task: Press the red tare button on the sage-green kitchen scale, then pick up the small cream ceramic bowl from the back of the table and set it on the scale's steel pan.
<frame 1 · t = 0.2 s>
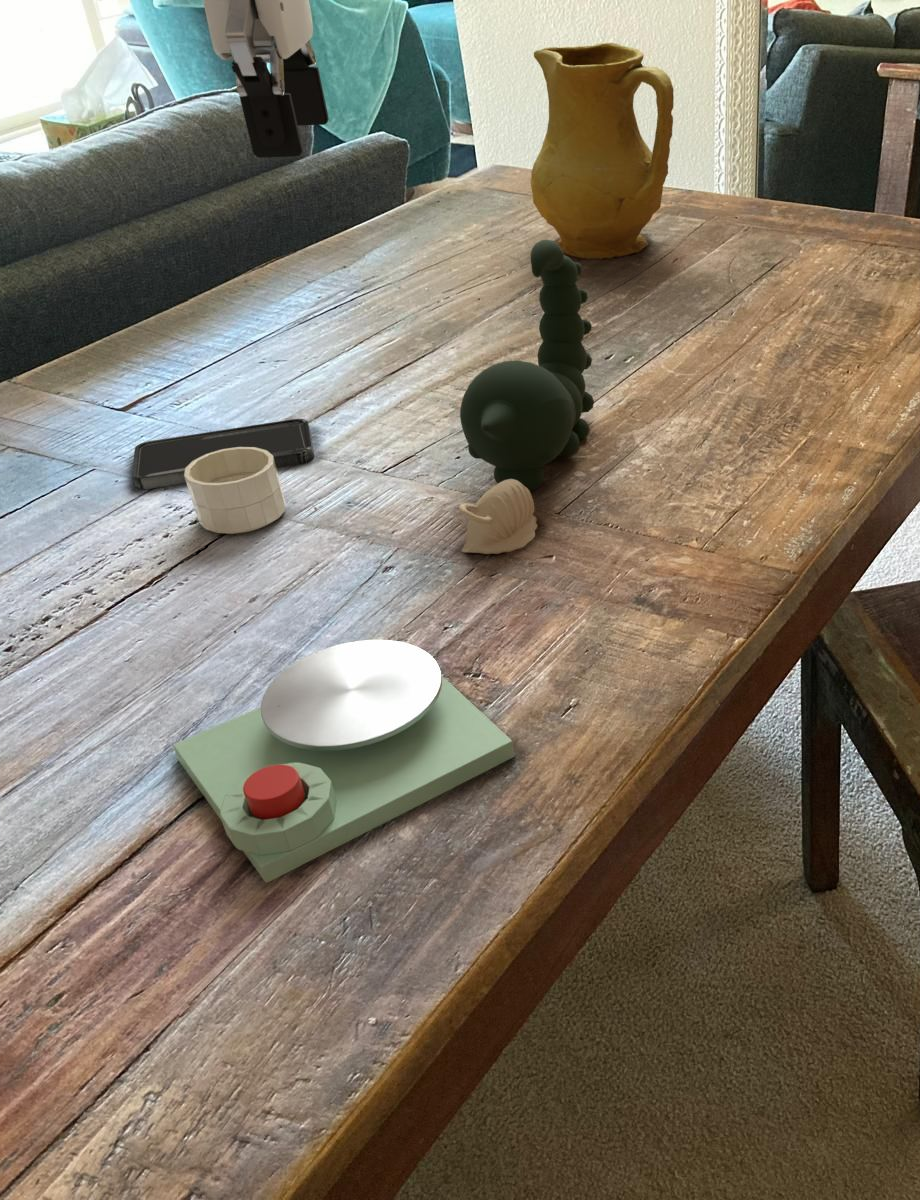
hand: (293, 139, 87), 30 cm above the table, tool pointing down, fingers open, 9 cm apart
tare button: (274, 791, 68), point 3 cm above the table, slide at 0.1 cm
decorative ornament: (500, 544, 98), on the table
scale pan: (363, 730, 78), resting on scale
pitcher: (605, 248, 163), on the table
phone: (227, 459, 110), on the table
bowl: (244, 518, 101), on the table
scale: (347, 759, 76), on the table
toy figurine: (543, 457, 111), on the table
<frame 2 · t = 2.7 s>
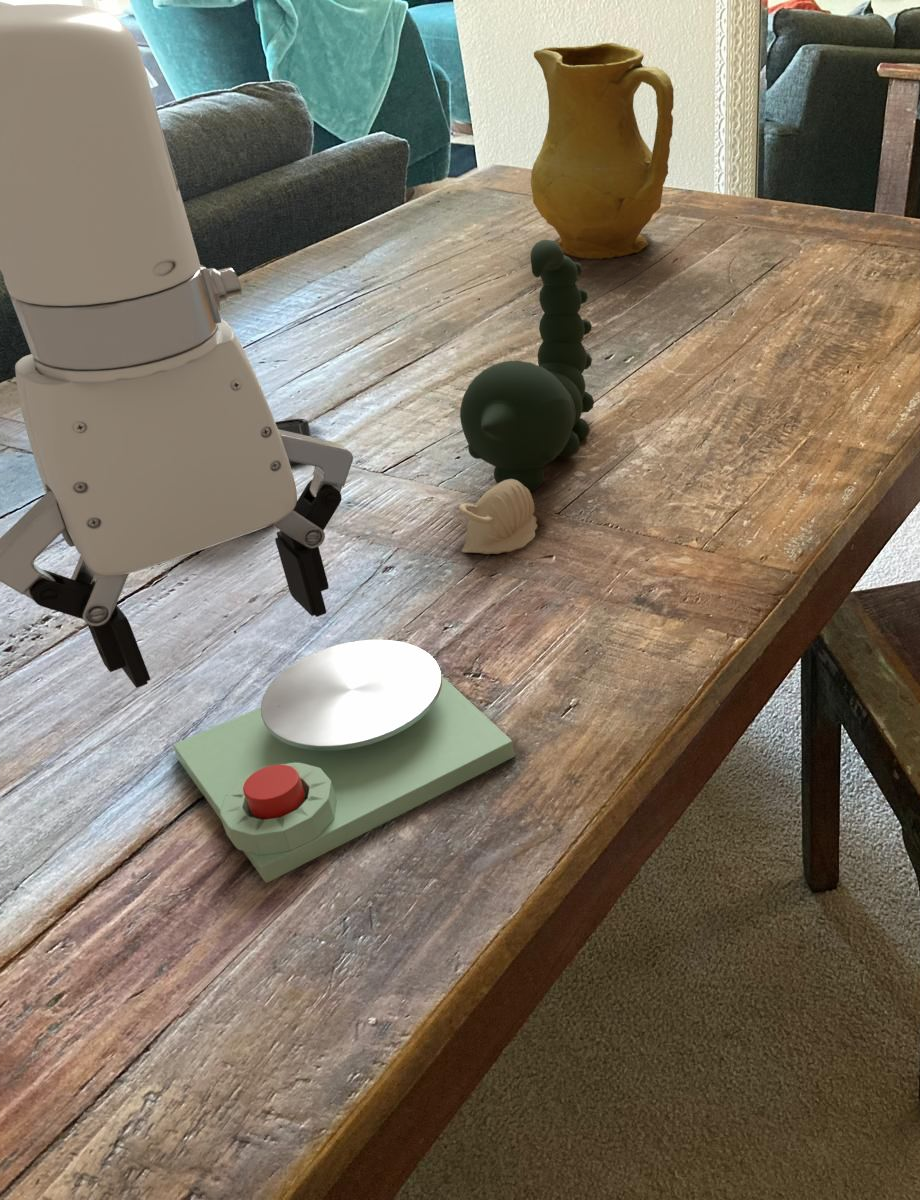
hand: (225, 637, 62), 14 cm above the table, tool pointing down, fingers open, 8 cm apart
nothing on the table moved.
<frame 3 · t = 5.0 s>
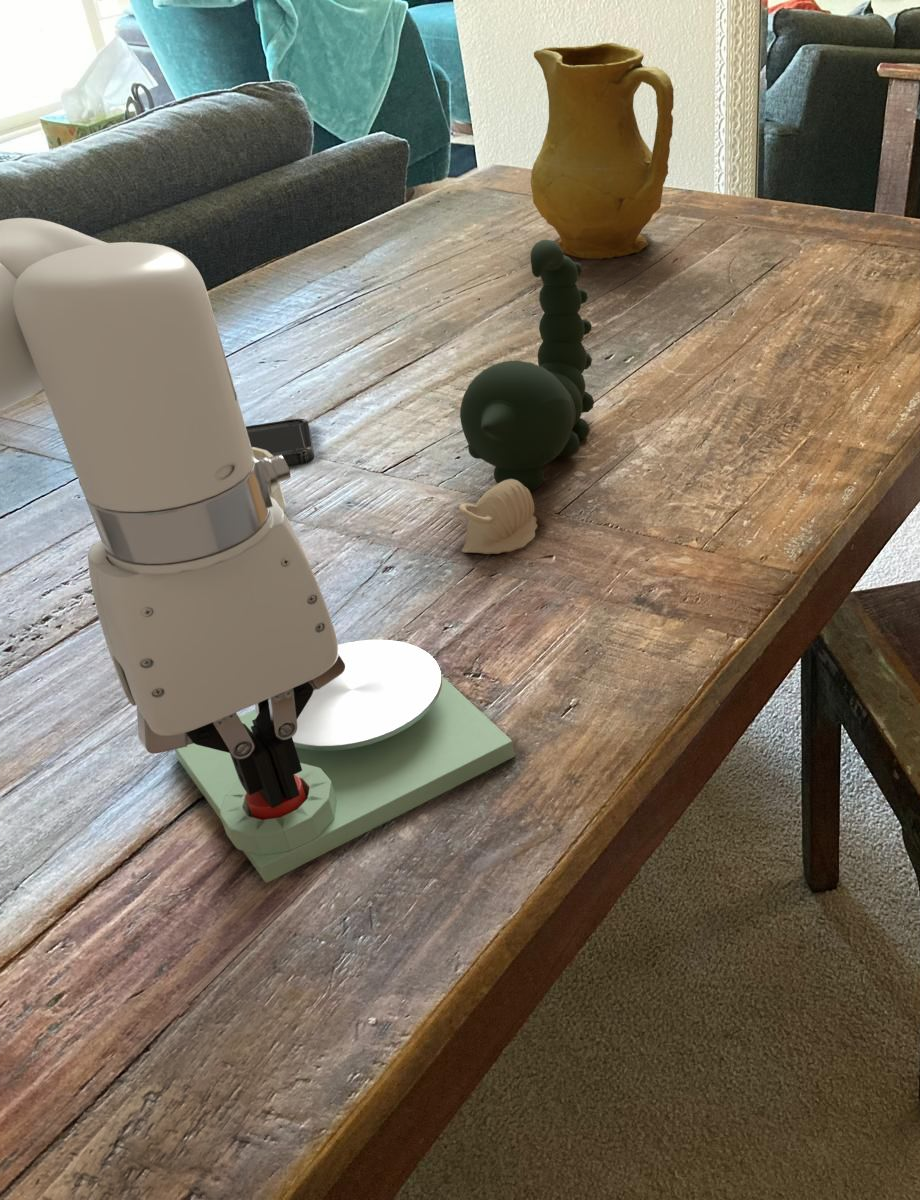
hand: (275, 789, 68), 4 cm above the table, tool pointing down, fingers closed
tare button: (276, 799, 69), point 3 cm above the table, slide at -0.5 cm, touching gripper
everything else where it was.
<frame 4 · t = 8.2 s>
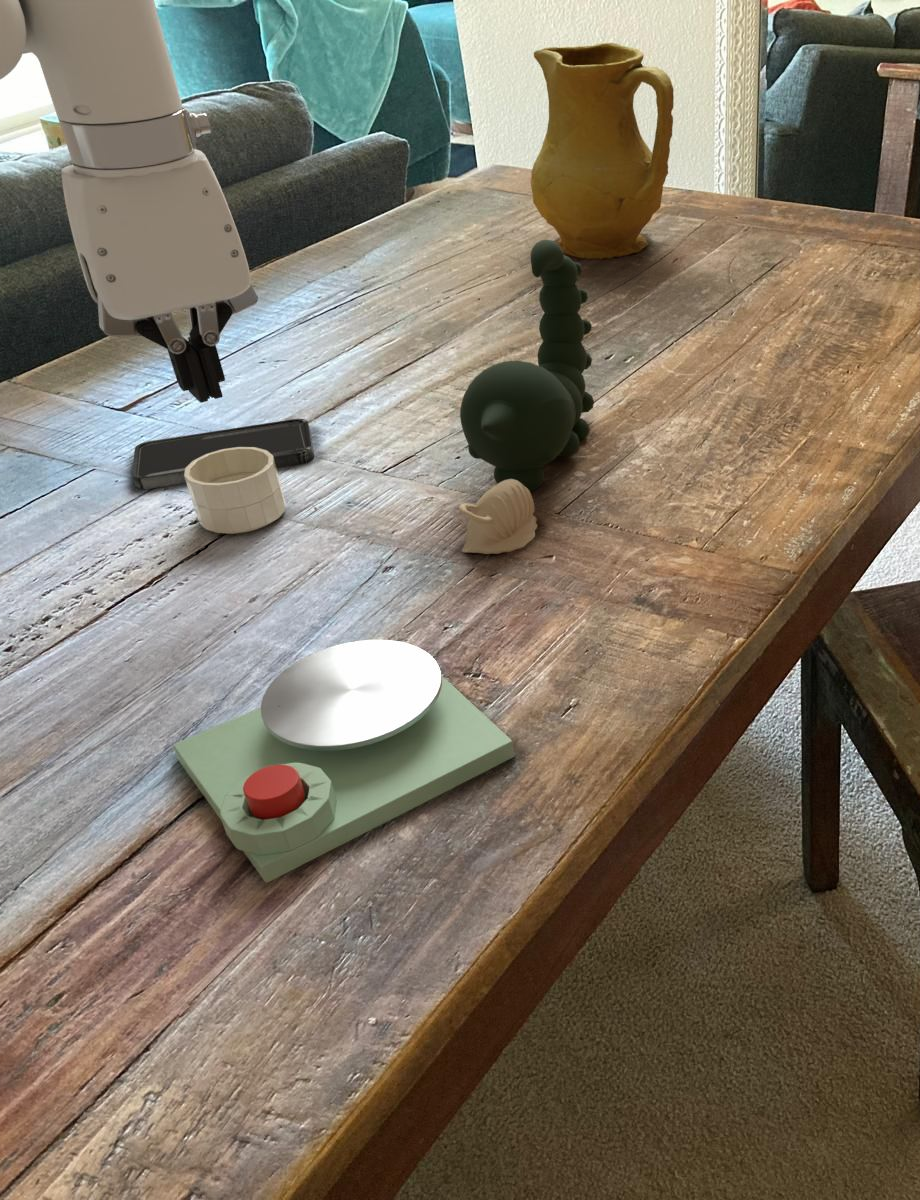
hand: (205, 394, 91), 13 cm above the table, tool pointing down, fingers closed
tare button: (274, 791, 68), point 3 cm above the table, slide at 0.1 cm
everything else where it was.
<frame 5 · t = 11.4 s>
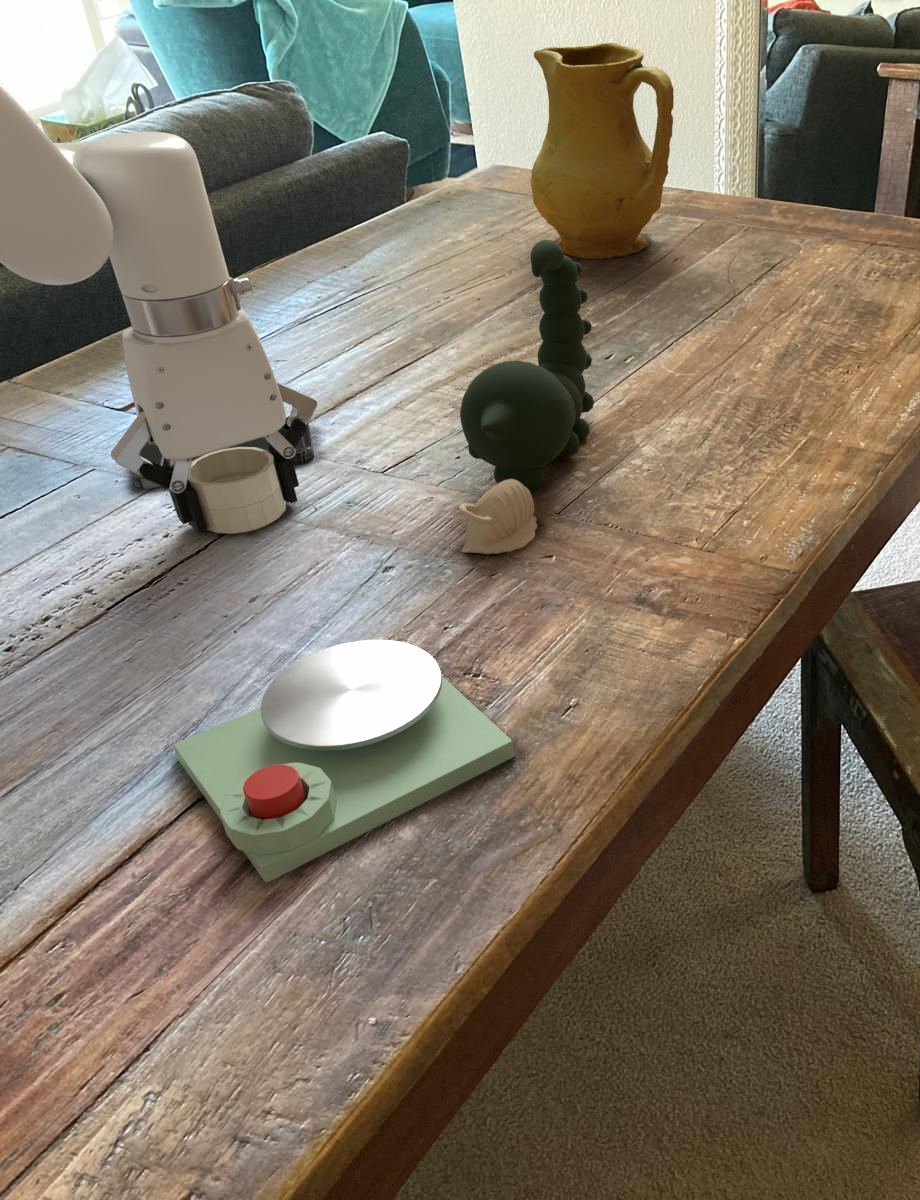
hand: (242, 510, 101), 1 cm above the table, tool pointing down, fingers closed on bowl, 6 cm apart
bowl: (244, 518, 101), on the table, touching gripper
everything else where it was.
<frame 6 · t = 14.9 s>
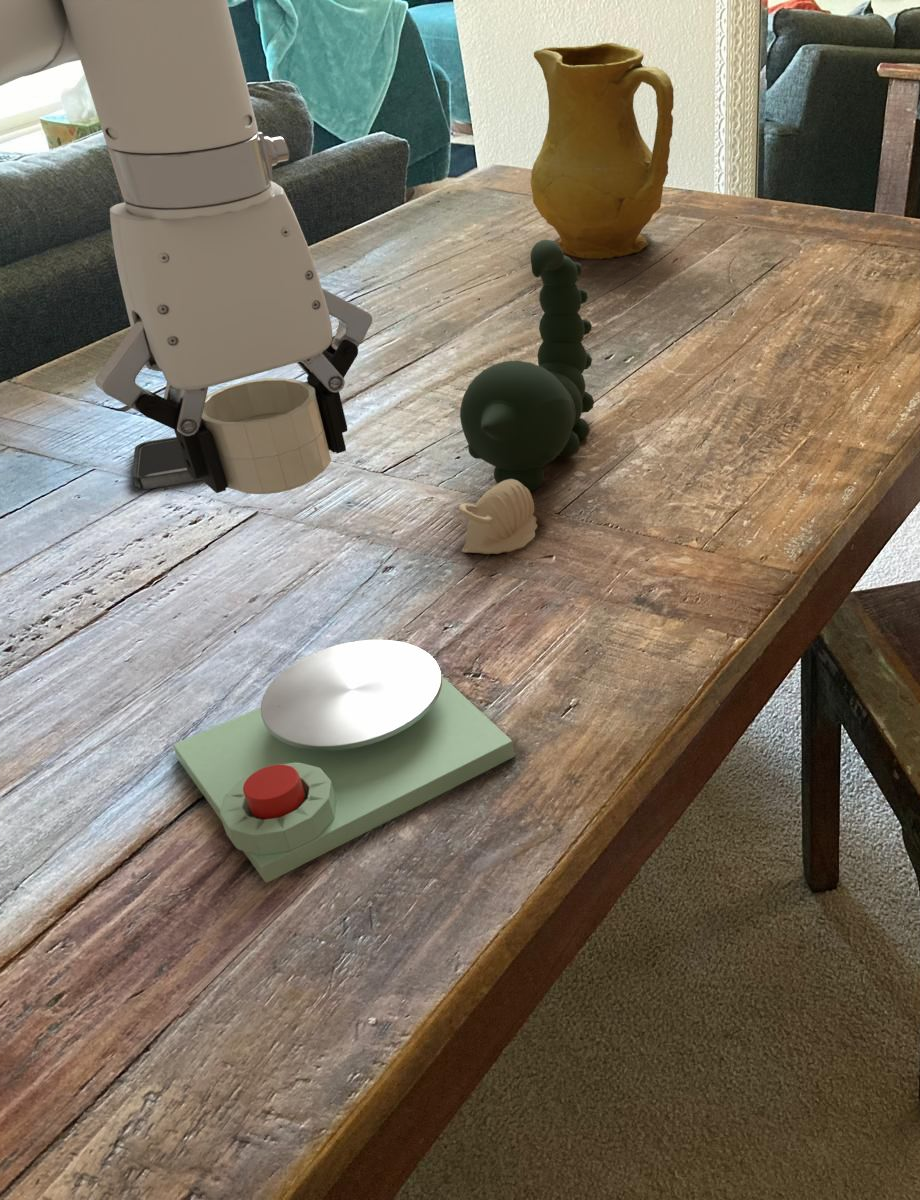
hand: (273, 462, 75), 16 cm above the table, tool pointing down, fingers closed on bowl, 6 cm apart
bowl: (276, 473, 76), point 15 cm above the table, touching gripper
everything else where it was.
when the fingers open (4 cm above the table, at t = 18.7 s): bowl stays where it is, resting on scale pan.
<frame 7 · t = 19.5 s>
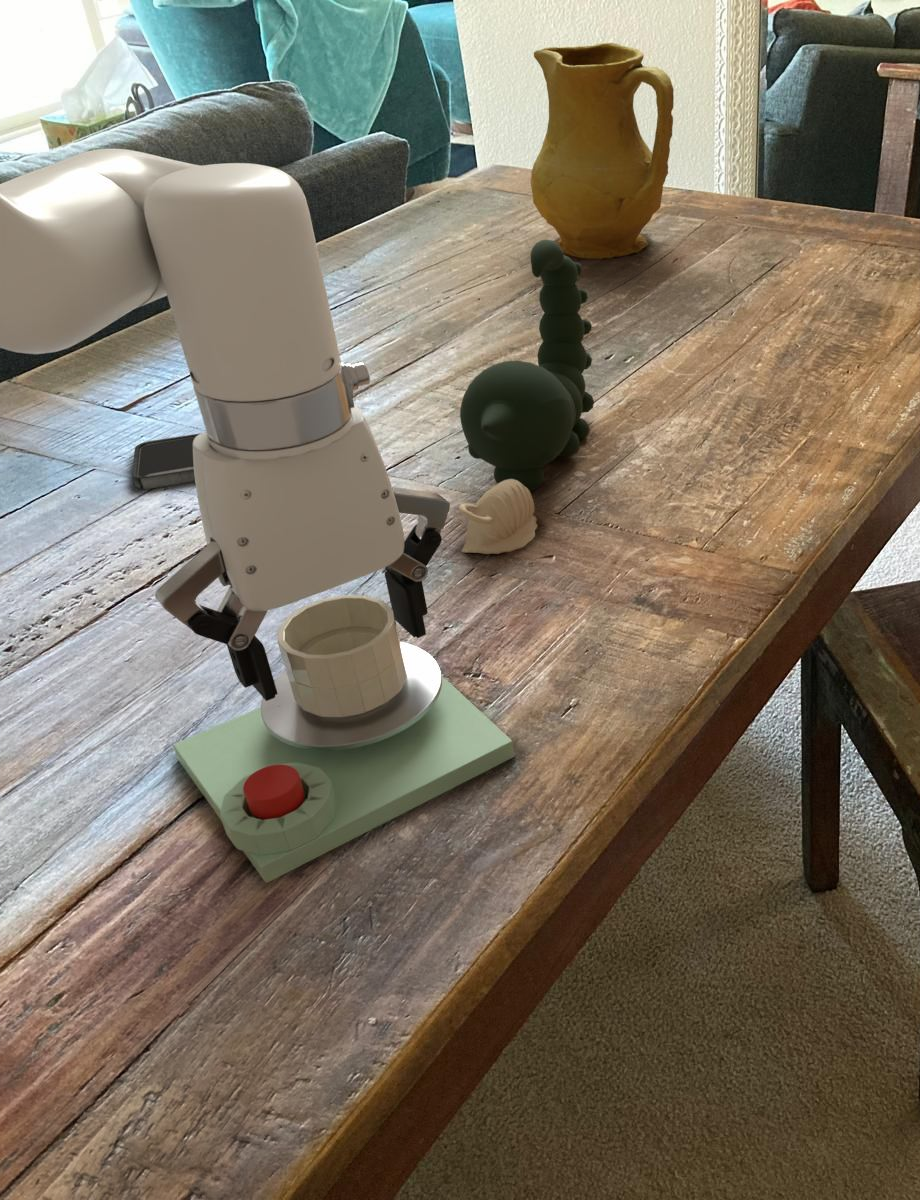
hand: (339, 657, 75), 6 cm above the table, tool pointing down, fingers open, 9 cm apart
bowl: (353, 689, 76), point 3 cm above the table, touching scale pan
everything else where it was.
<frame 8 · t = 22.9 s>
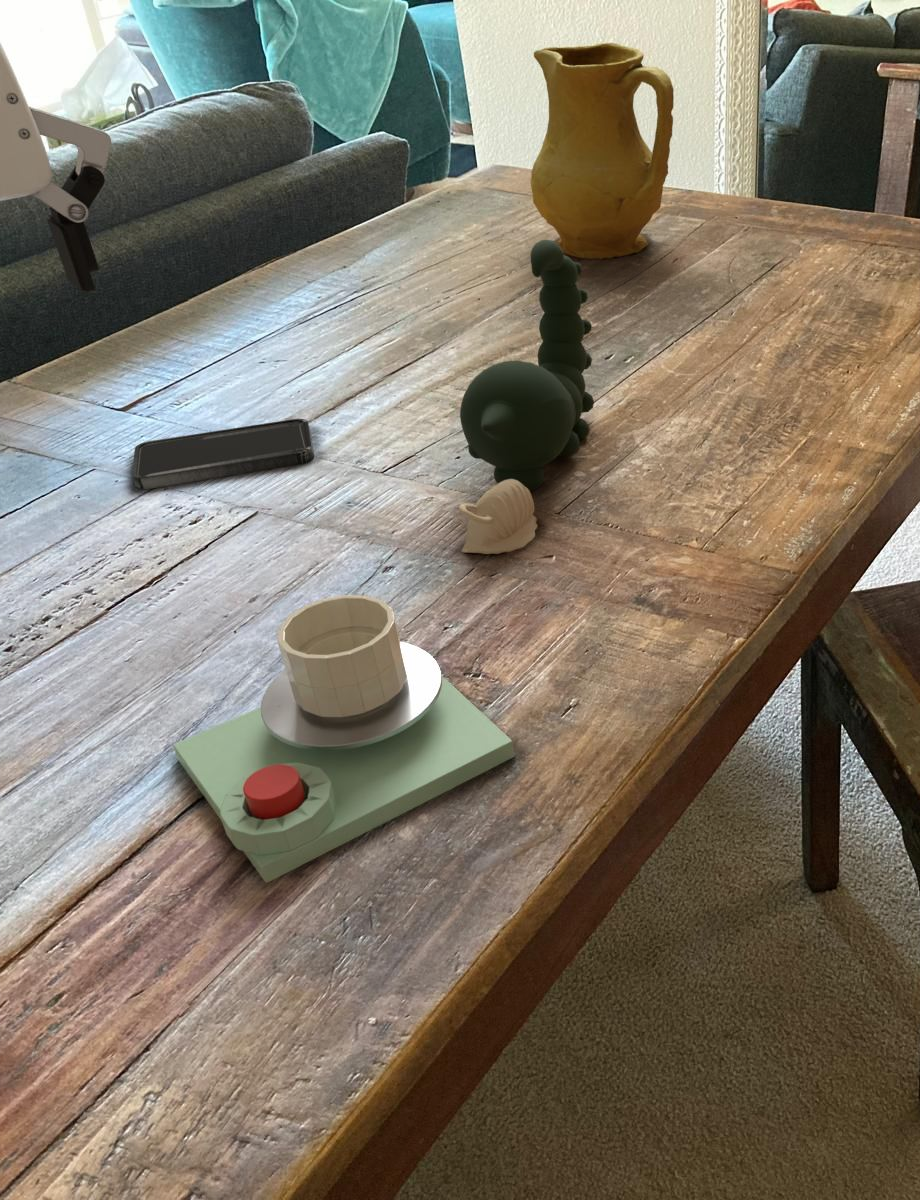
nothing on the table moved.
at the end: tare button pushed in 0.9 cm at the most during the clip, back to where it started at the end; bowl inside the target area on the scale (0.0 cm from its centre), point 3.4 cm above the scale's base; bowl tilted 0° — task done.
